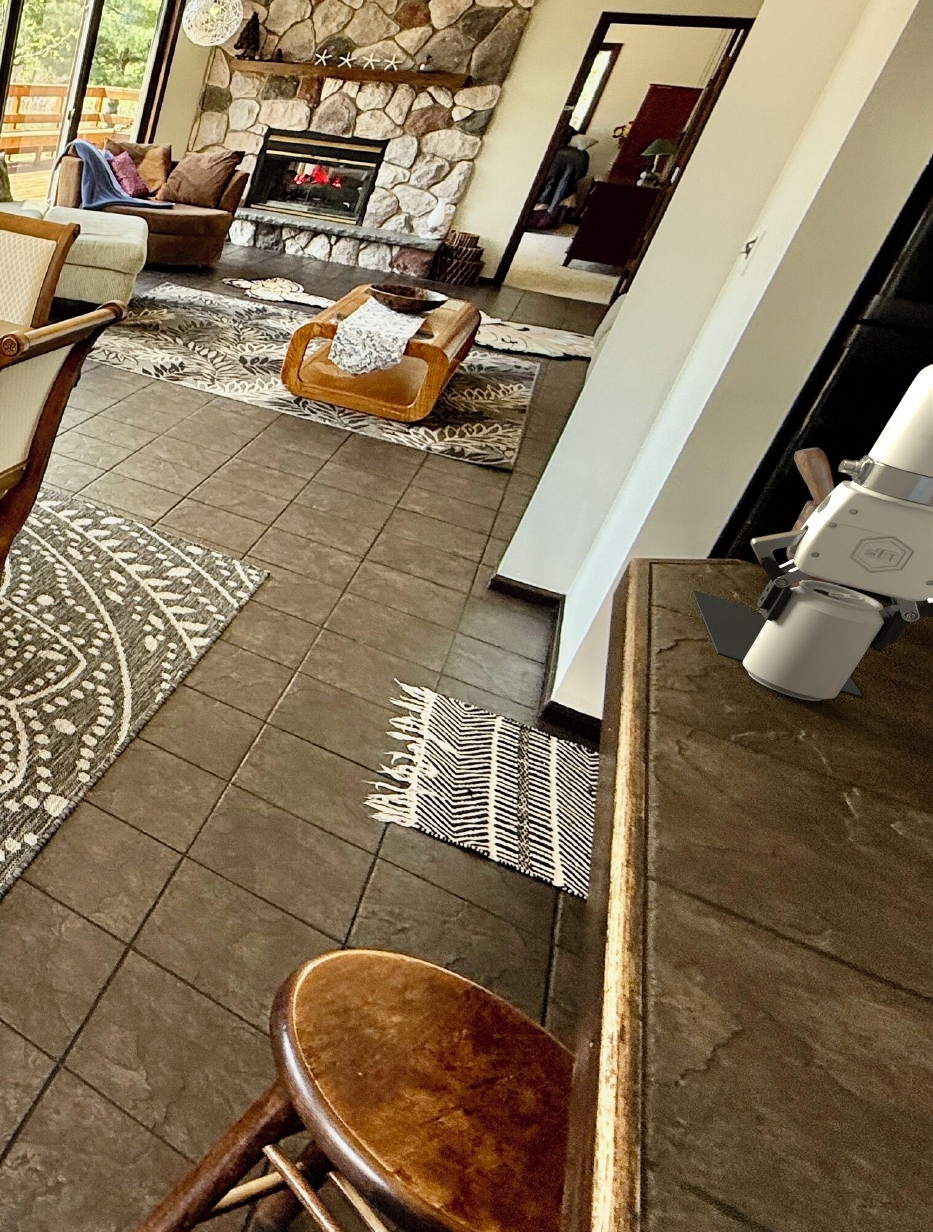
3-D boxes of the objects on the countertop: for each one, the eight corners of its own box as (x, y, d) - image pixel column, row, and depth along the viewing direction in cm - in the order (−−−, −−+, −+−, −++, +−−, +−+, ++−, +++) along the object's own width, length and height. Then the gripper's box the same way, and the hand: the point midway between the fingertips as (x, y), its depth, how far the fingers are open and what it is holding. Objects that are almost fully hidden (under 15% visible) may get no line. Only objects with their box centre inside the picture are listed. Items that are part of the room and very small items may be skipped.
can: (730, 658, 108) (782, 568, 103) (818, 683, 104) (877, 591, 100) (749, 686, 102) (805, 593, 97) (843, 714, 98) (907, 618, 94)
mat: (816, 625, 117) (817, 624, 117) (861, 697, 103) (862, 696, 102) (691, 591, 124) (692, 589, 124) (717, 653, 109) (718, 652, 109)
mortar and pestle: (731, 590, 125) (810, 456, 117) (722, 568, 131) (796, 440, 123) (853, 624, 118) (945, 484, 110) (837, 599, 125) (923, 466, 117)
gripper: (801, 469, 95) (717, 613, 102) (1060, 524, 86) (948, 678, 93) (784, 450, 101) (705, 588, 108) (1025, 500, 91) (922, 647, 99)
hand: (818, 629), depth 100 cm, fingers closed on can, 7 cm apart
